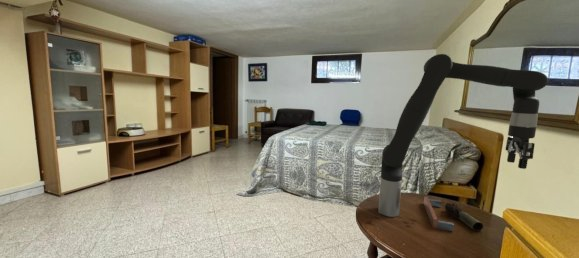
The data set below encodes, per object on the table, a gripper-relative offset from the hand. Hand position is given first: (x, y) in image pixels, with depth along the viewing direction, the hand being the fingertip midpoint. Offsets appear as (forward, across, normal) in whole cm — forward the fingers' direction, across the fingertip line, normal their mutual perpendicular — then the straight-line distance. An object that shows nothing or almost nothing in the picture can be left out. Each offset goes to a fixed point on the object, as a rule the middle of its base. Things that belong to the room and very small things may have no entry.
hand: (516, 165), depth 94 cm
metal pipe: (+30, -5, -15) cm, 34 cm away
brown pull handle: (+29, -5, -23) cm, 38 cm away
